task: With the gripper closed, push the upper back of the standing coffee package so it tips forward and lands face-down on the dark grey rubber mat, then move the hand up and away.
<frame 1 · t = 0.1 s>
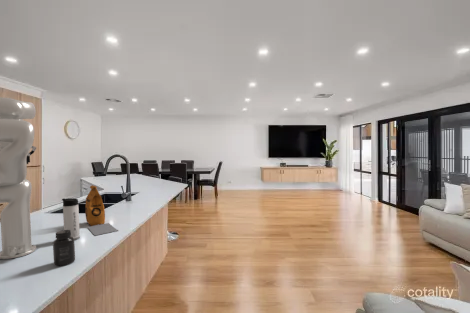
hand: (14, 164, 125), 37 cm above the counter, tool pointing down, fingers open, 9 cm apart
travel mug: (71, 239, 124), on the counter
mat: (102, 229, 139), on the counter
supplement bottle: (64, 263, 98), on the counter
coffee package: (95, 223, 151), on the counter
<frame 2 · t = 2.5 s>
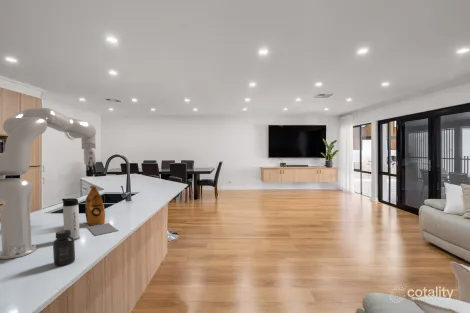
hand: (89, 175, 160), 27 cm above the counter, tool pointing down, fingers open, 3 cm apart
nothing on the counter moved.
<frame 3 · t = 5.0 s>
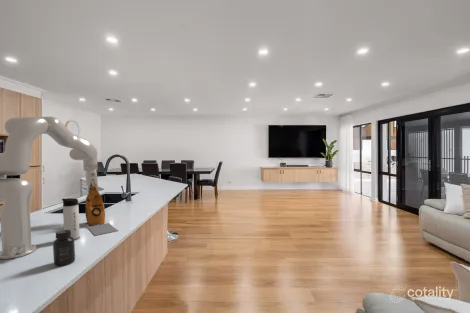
hand: (91, 197, 157), 14 cm above the counter, tool pointing down, fingers closed
coffee package: (95, 223, 151), on the counter, touching gripper
everything else where it was.
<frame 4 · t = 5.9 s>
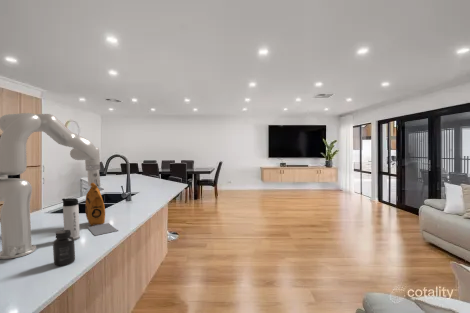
hand: (94, 198, 153), 14 cm above the counter, tool pointing down, fingers closed
coffee package: (95, 220, 151), point 2 cm above the counter, touching gripper
everything else where it was.
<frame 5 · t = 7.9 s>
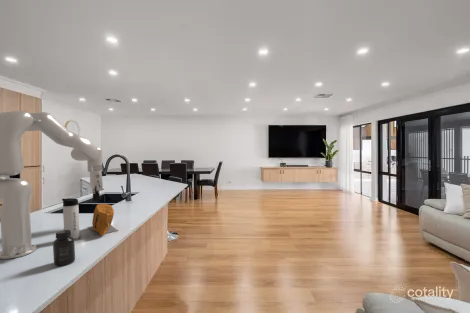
hand: (96, 200, 148), 14 cm above the counter, tool pointing down, fingers closed
coffee package: (102, 214, 145), point 7 cm above the counter, touching mat
everything else where it was.
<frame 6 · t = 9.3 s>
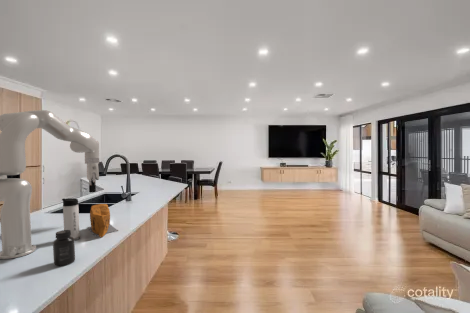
hand: (92, 191, 152), 18 cm above the counter, tool pointing down, fingers closed
coffee package: (99, 213, 144), point 7 cm above the counter, touching mat
everything else where it was.
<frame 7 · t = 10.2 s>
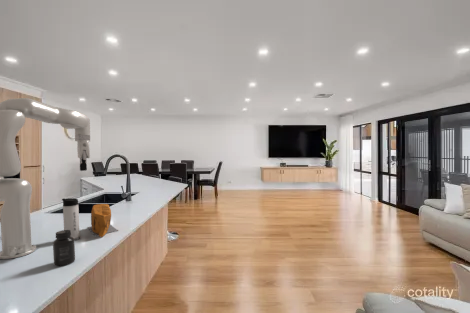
hand: (83, 170, 147), 32 cm above the counter, tool pointing down, fingers closed
coffee package: (100, 213, 144), point 7 cm above the counter, touching mat
everything else where it was.
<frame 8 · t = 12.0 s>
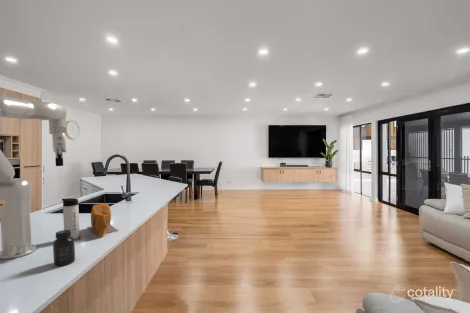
hand: (59, 165, 135), 35 cm above the counter, tool pointing down, fingers closed
coffee package: (99, 213, 144), point 7 cm above the counter, touching mat
everything else where it was.
at the end: coffee package tilted 97°; coffee package inside the target area (4.3 cm from its centre), point 7.1 cm above the counter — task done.
